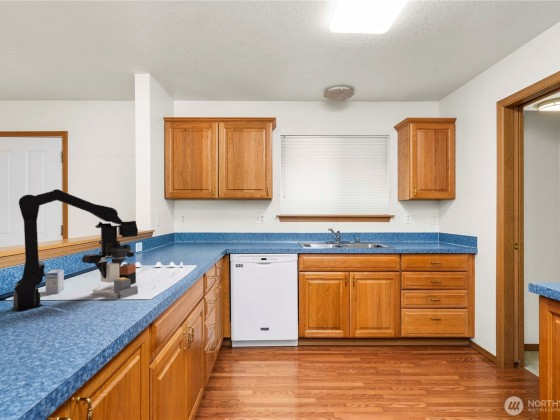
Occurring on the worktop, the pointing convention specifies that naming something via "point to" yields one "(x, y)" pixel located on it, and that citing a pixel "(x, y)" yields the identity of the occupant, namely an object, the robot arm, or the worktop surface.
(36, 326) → the worktop surface
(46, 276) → the medicine box
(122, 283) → the relay block
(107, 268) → the block
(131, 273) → the battery
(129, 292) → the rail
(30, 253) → the robot arm
